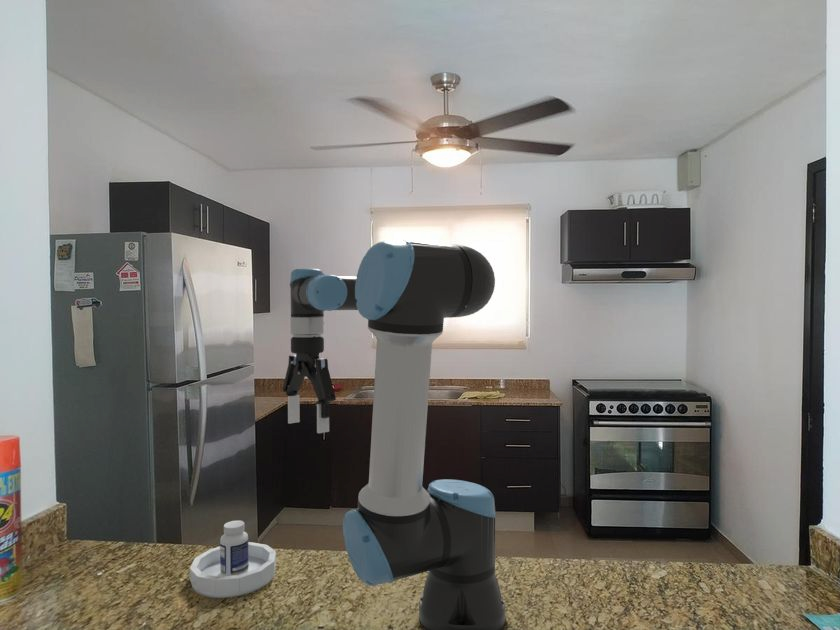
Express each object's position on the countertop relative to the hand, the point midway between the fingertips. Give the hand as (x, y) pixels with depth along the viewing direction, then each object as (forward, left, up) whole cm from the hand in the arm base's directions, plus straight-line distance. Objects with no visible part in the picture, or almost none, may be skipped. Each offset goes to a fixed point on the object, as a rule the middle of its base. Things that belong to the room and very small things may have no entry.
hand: (307, 427), depth 125 cm
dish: (-5, +19, -27) cm, 33 cm away
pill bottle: (-5, +19, -26) cm, 33 cm away
